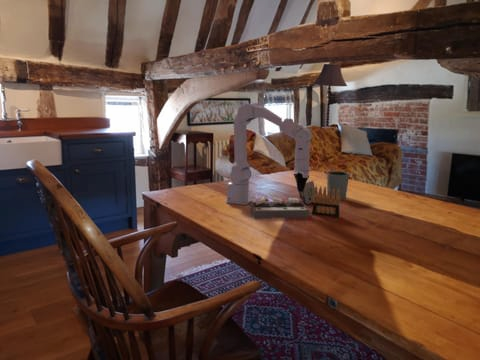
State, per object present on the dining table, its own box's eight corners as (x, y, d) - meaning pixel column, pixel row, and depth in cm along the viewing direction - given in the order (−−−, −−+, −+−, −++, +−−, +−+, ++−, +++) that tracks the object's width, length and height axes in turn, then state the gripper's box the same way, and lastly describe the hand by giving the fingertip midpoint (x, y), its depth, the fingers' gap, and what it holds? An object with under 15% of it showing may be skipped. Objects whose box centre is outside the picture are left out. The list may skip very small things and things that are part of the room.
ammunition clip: (311, 214, 149) (313, 186, 146) (312, 213, 150) (314, 185, 147) (338, 217, 145) (341, 188, 142) (339, 216, 147) (341, 187, 144)
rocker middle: (272, 202, 148) (273, 198, 148) (271, 199, 151) (272, 196, 151) (284, 205, 149) (285, 201, 149) (283, 202, 152) (284, 199, 152)
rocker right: (289, 202, 149) (290, 199, 149) (288, 200, 152) (288, 197, 152) (302, 204, 149) (302, 200, 149) (300, 201, 153) (300, 198, 152)
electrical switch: (307, 205, 161) (306, 184, 160) (297, 203, 165) (296, 183, 163) (317, 200, 168) (316, 180, 167) (307, 199, 172) (306, 180, 170)
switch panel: (253, 218, 143) (254, 209, 142) (250, 209, 155) (250, 201, 154) (308, 217, 145) (309, 209, 144) (301, 208, 156) (302, 200, 156)
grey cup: (323, 199, 171) (325, 174, 168) (327, 193, 180) (329, 169, 177) (346, 201, 167) (348, 176, 164) (348, 196, 176) (350, 171, 173)
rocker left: (256, 205, 148) (255, 202, 148) (255, 203, 151) (254, 200, 151) (269, 201, 148) (268, 198, 148) (267, 199, 151) (266, 196, 151)
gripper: (316, 161, 140) (314, 195, 143) (307, 155, 154) (305, 186, 157) (298, 161, 139) (297, 195, 143) (290, 155, 154) (289, 186, 157)
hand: (300, 191), depth 150 cm, fingers closed
